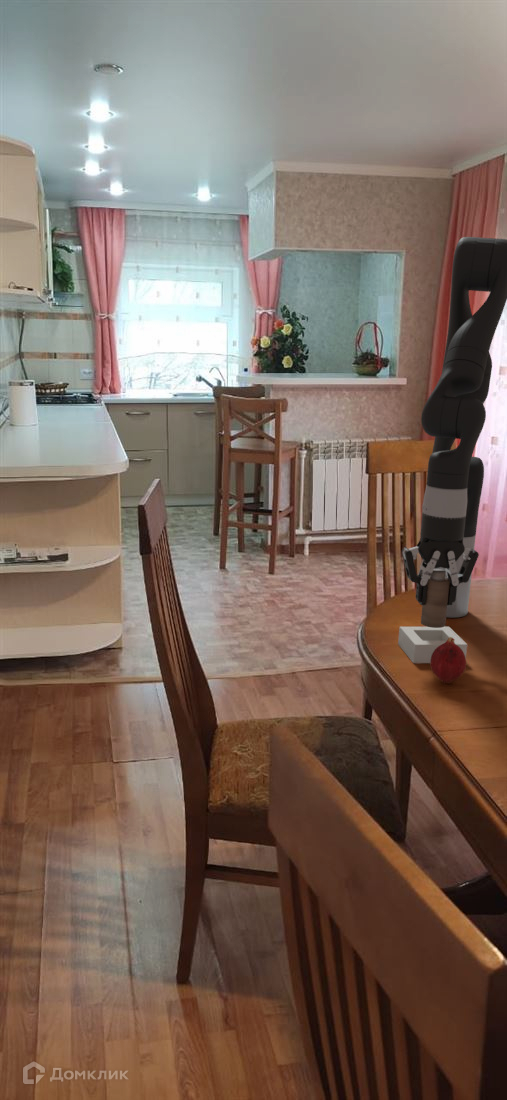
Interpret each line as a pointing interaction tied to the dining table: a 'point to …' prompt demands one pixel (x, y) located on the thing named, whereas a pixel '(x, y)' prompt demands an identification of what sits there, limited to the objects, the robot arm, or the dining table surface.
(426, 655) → the holder
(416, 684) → the dining table surface
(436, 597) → the pepper mill
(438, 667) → the onion
